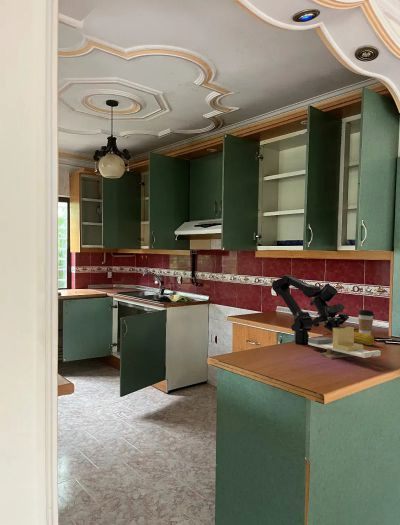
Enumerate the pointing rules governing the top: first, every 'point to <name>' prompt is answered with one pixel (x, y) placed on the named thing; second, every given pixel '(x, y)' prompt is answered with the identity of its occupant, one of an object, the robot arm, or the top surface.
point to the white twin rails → (328, 343)
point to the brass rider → (345, 339)
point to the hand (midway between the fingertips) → (340, 335)
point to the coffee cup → (365, 321)
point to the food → (363, 338)
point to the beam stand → (334, 354)
